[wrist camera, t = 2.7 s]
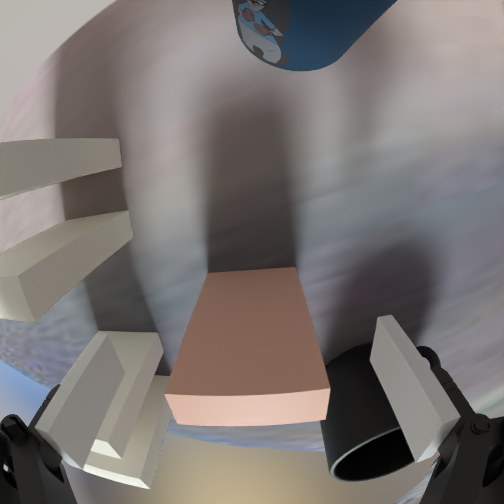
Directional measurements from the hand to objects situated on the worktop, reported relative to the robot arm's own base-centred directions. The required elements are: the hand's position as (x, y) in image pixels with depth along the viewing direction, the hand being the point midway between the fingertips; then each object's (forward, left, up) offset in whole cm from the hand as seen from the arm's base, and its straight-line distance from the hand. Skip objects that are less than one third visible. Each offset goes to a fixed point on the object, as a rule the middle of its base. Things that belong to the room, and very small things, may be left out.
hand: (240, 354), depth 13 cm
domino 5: (0, 0, -8) cm, 8 cm away
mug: (-10, +10, -8) cm, 16 cm away
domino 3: (+11, +5, -8) cm, 14 cm away
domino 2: (+11, -5, -8) cm, 14 cm away
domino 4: (+11, +10, -8) cm, 16 cm away
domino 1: (+11, -10, -8) cm, 16 cm away
